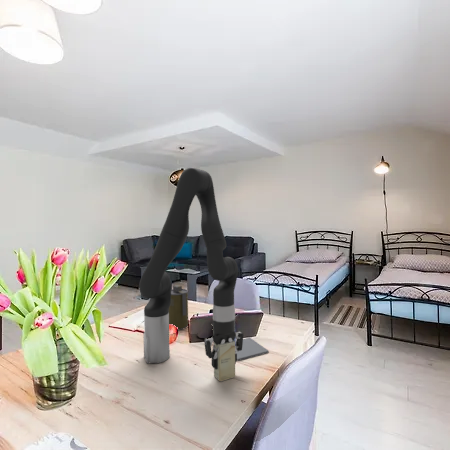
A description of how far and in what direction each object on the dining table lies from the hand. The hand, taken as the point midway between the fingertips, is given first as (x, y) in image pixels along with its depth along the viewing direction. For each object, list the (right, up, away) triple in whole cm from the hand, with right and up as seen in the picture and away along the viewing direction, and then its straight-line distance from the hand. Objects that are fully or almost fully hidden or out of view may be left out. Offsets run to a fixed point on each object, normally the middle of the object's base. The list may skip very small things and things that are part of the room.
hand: (224, 365), depth 98 cm
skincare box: (0, -4, 0) cm, 4 cm away
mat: (+8, -3, +20) cm, 22 cm away
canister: (-23, -3, +46) cm, 51 cm away
